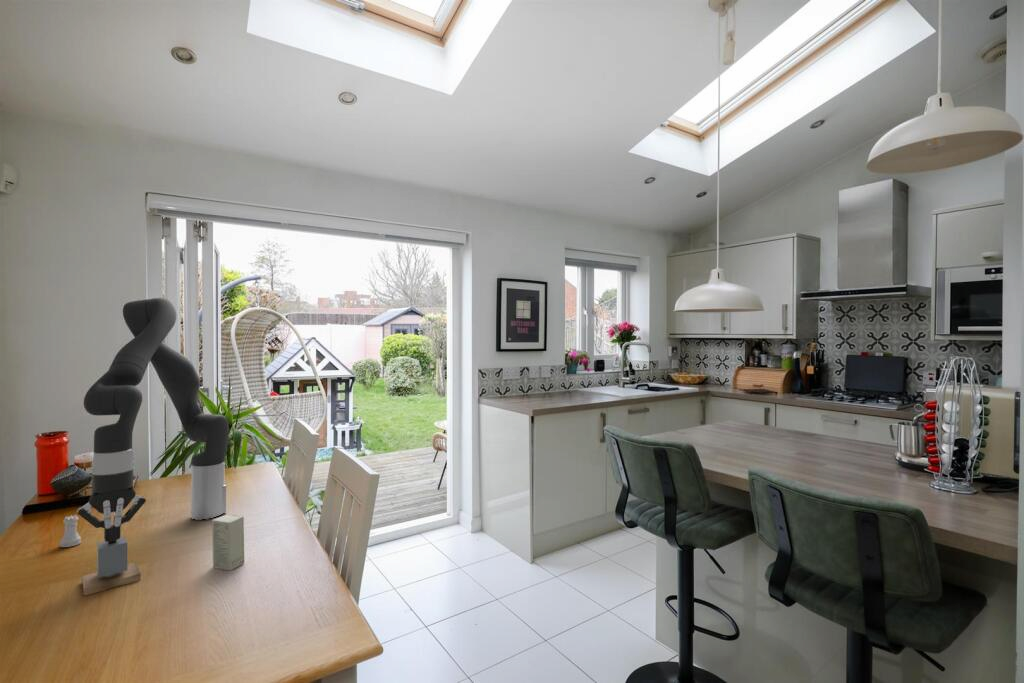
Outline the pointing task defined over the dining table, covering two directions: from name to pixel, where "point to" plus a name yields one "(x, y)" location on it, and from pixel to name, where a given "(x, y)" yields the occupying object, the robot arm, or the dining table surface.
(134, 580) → the wooden stand with post
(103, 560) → the blue-grey rectangular block
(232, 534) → the skincare box
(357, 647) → the dining table surface
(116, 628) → the dining table surface
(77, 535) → the rook chess piece
